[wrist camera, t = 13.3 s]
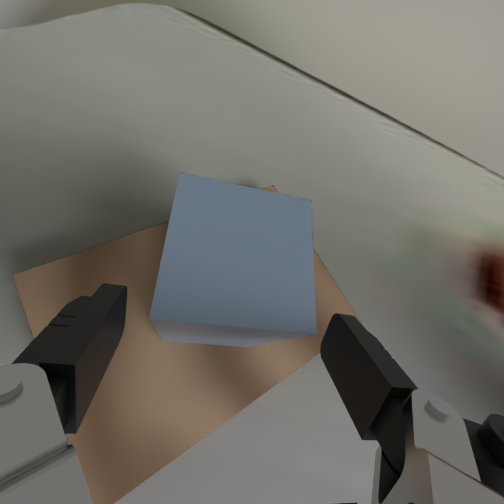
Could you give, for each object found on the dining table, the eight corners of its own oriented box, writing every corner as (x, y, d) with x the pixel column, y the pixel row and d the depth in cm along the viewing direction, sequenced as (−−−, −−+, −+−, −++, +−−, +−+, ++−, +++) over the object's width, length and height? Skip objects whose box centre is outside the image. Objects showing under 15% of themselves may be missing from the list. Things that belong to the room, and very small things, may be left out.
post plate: (266, 197, 26) (290, 154, 20) (346, 325, 23) (398, 314, 18) (28, 283, 18) (-35, 250, 12) (104, 498, 15) (64, 576, 10)
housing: (177, 260, 19) (179, 172, 10) (251, 270, 20) (311, 200, 11) (162, 340, 17) (148, 318, 8) (247, 347, 18) (316, 333, 9)
